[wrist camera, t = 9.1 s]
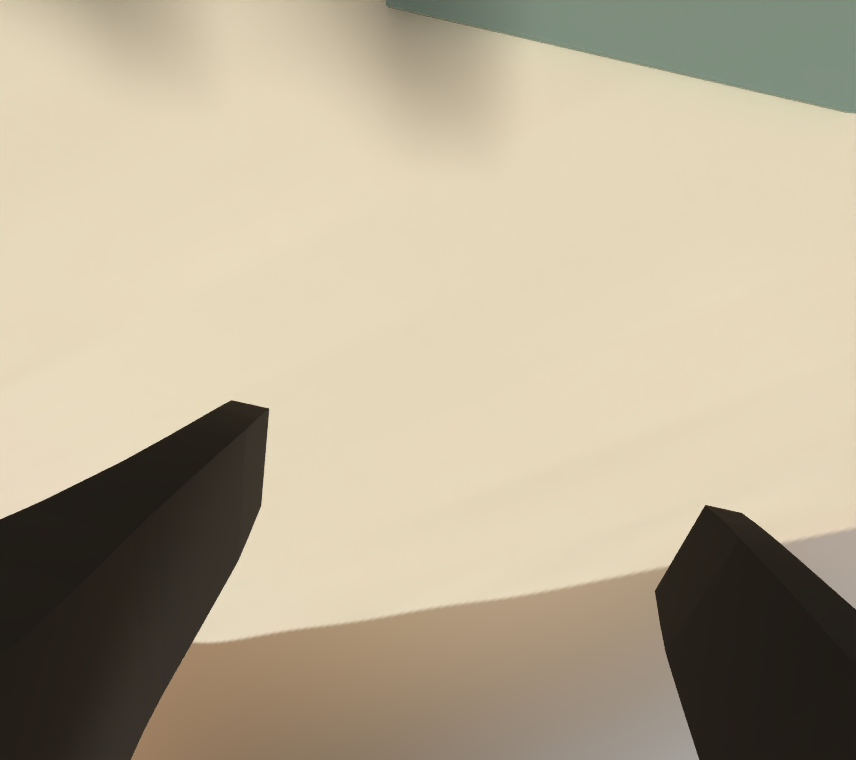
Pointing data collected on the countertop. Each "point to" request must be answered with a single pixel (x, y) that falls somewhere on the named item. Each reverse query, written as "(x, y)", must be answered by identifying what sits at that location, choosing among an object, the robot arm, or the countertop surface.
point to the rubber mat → (690, 38)
